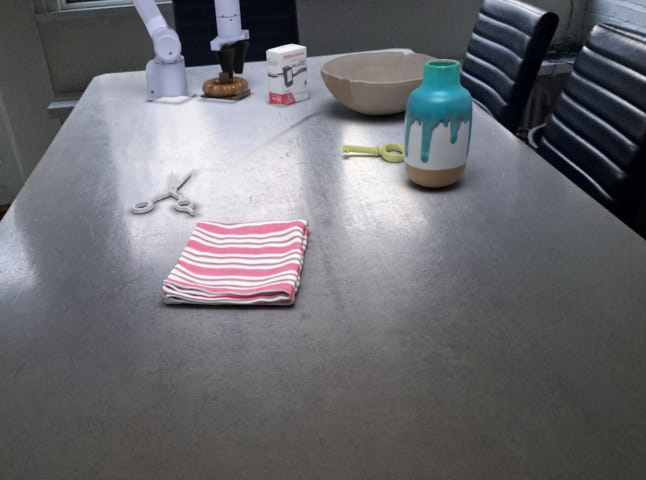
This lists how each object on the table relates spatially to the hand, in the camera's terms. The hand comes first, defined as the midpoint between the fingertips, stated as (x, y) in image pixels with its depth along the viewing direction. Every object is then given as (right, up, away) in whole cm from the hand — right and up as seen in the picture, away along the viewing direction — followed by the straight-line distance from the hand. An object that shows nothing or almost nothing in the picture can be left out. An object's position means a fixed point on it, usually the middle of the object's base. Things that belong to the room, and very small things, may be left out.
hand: (233, 75), depth 170 cm
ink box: (+14, -9, -7) cm, 18 cm away
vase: (+38, -41, -55) cm, 78 cm away
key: (+30, -33, -42) cm, 61 cm away
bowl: (+34, -16, -18) cm, 42 cm away
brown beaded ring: (-2, -3, -2) cm, 5 cm away
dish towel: (+7, -58, -76) cm, 96 cm away
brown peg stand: (-2, -6, -1) cm, 6 cm away
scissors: (-6, -42, -52) cm, 67 cm away
